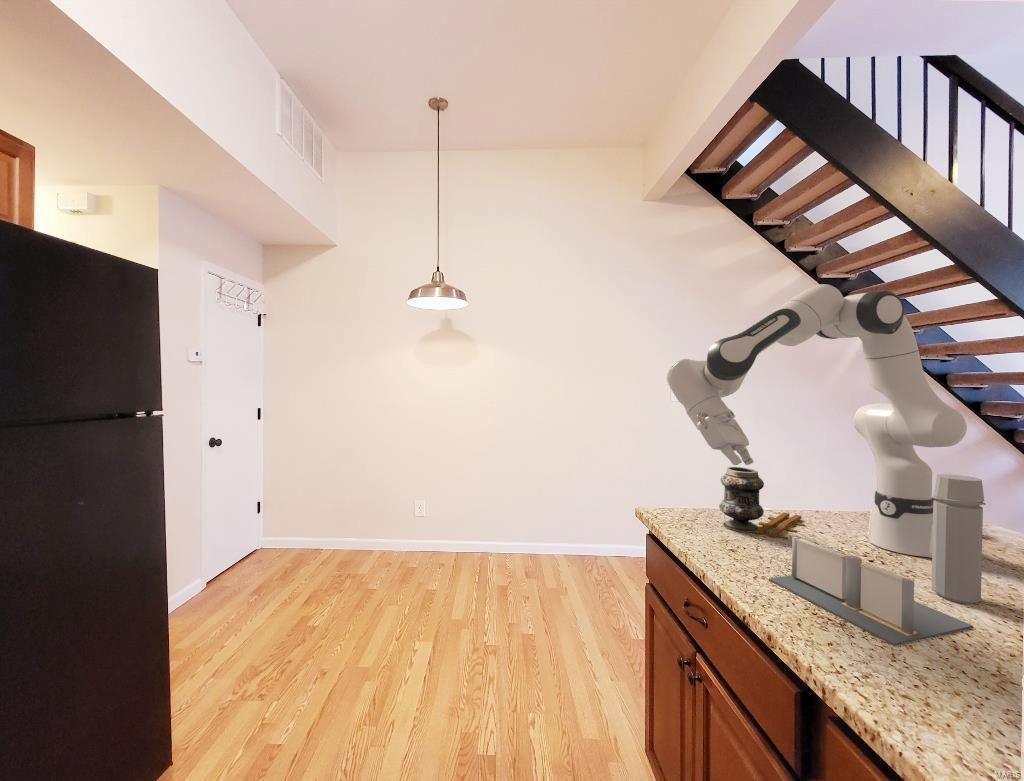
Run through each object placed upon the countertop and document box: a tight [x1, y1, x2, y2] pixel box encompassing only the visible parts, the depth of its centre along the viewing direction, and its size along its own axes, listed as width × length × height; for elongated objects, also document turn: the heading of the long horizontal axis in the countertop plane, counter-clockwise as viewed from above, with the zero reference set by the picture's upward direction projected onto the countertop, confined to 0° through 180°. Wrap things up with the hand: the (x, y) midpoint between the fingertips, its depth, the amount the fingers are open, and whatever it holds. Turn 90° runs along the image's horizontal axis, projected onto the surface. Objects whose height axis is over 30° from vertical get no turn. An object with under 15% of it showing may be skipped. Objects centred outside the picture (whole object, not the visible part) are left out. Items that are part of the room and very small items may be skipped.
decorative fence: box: [755, 512, 806, 540], centre depth 133 cm, size 25×2×10 cm
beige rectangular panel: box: [791, 536, 848, 599], centre depth 92 cm, size 2×11×9 cm, turn 16°
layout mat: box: [768, 574, 974, 647], centre depth 87 cm, size 20×25×1 cm
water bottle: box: [931, 473, 987, 605], centre depth 90 cm, size 9×8×25 cm
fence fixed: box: [845, 554, 915, 634], centre depth 80 cm, size 2×11×10 cm, turn 16°
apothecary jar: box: [718, 466, 765, 533], centre depth 132 cm, size 12×12×18 cm
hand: (744, 463), depth 101 cm, fingers open, 8 cm apart
